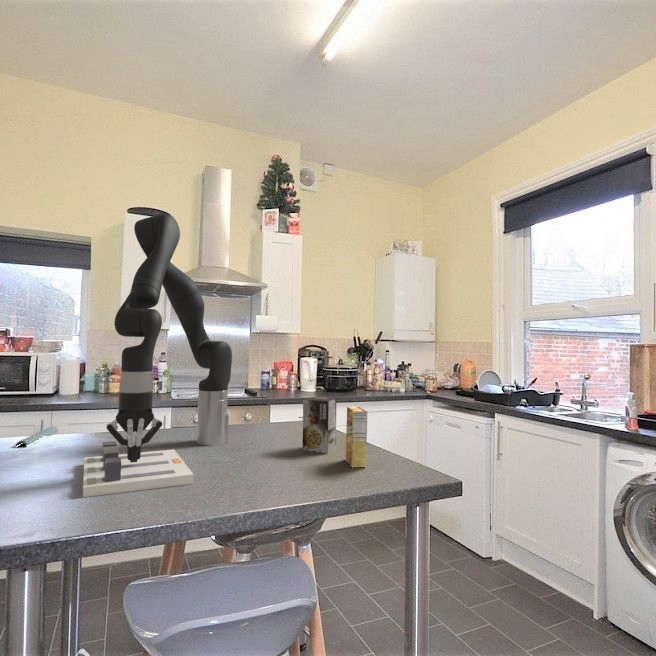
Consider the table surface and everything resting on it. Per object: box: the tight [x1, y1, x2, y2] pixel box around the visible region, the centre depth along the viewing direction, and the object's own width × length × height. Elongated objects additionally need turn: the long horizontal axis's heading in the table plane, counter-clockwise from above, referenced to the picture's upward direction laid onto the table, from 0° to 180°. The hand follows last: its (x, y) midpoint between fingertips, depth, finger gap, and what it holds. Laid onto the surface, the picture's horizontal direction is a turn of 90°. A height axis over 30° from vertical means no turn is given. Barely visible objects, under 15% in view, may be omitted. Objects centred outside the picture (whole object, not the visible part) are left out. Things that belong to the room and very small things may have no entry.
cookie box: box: [301, 396, 337, 454], centre depth 135 cm, size 9×6×16 cm
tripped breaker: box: [102, 445, 120, 470], centre depth 102 cm, size 3×4×4 cm
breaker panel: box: [82, 440, 194, 498], centre depth 105 cm, size 22×26×6 cm
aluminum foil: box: [14, 426, 59, 446], centre depth 137 cm, size 23×7×3 cm, turn 12°
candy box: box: [345, 406, 368, 469], centre depth 120 cm, size 9×4×15 cm, turn 10°
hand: (133, 461), depth 105 cm, fingers closed
